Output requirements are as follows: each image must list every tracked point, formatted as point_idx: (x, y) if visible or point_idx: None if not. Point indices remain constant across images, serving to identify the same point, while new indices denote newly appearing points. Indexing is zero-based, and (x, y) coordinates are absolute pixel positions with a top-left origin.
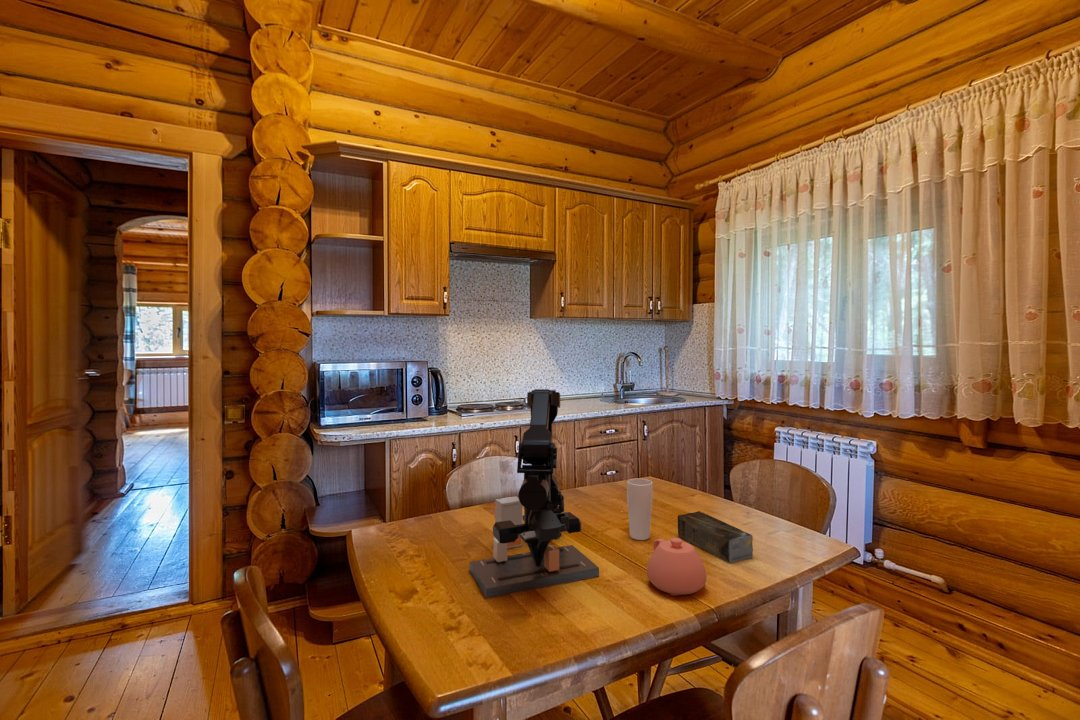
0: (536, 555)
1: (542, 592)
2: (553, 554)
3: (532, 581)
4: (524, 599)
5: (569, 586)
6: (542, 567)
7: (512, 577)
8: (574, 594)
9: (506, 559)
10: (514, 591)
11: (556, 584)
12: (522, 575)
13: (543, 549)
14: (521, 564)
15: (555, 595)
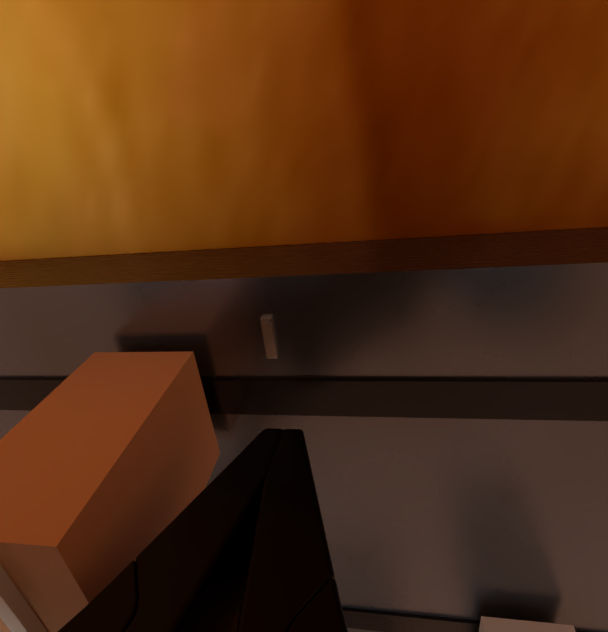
0: (286, 537)
1: (329, 151)
2: (34, 485)
3: (402, 263)
4: (566, 49)
5: (75, 188)
6: (236, 452)
7: (589, 381)
8: (36, 7)
9: (490, 627)
10: (596, 231)
11: (176, 251)
12: (468, 383)
13: (132, 610)
14: (387, 542)
15: (221, 44)
